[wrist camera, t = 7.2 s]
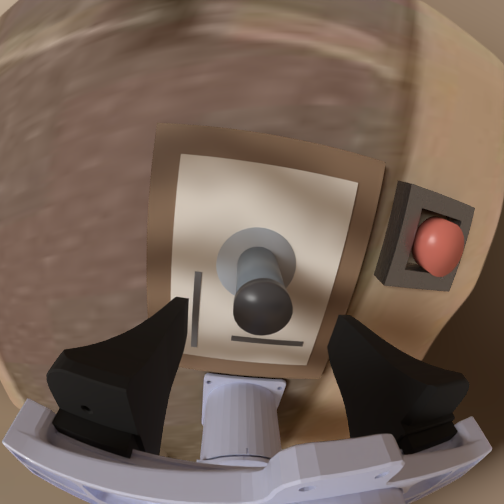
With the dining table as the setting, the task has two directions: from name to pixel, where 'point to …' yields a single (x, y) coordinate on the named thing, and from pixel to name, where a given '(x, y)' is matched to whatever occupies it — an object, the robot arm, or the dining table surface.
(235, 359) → the drawing board
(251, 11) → the dining table surface
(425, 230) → the button
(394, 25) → the dining table surface
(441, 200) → the button housing
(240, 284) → the gray capped cylinder
